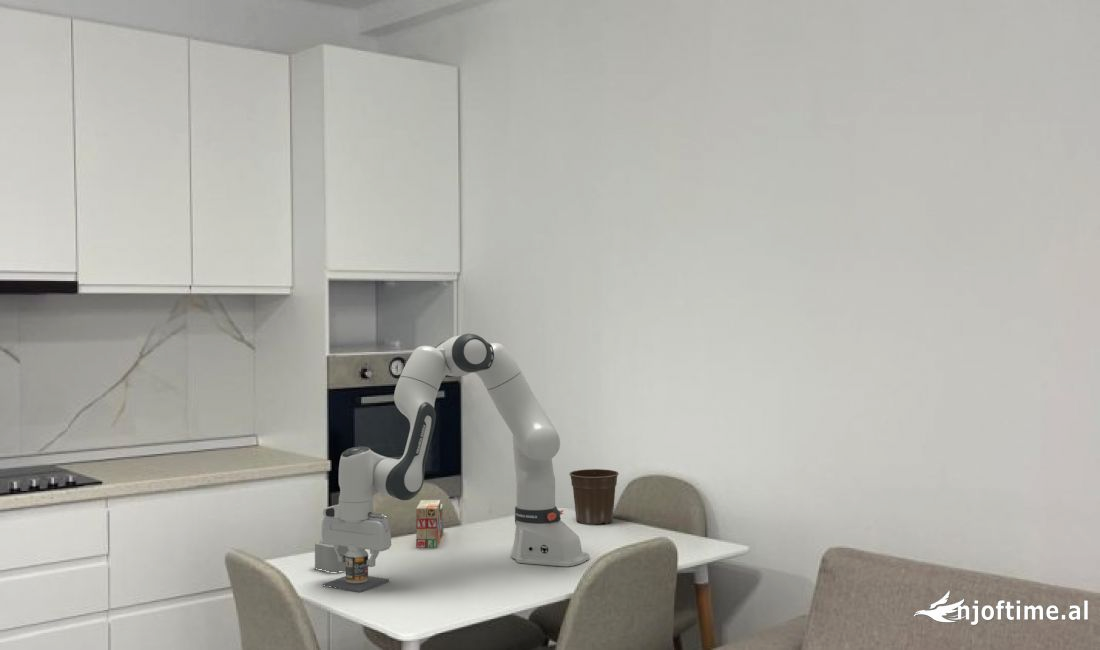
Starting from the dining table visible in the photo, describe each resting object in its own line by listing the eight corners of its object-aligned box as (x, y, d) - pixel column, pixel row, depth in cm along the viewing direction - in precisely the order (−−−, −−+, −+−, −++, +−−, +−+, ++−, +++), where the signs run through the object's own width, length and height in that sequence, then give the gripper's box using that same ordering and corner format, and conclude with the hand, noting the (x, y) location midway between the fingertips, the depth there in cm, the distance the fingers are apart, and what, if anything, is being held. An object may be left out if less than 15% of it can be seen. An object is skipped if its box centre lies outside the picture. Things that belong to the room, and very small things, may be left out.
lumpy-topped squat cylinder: (309, 568, 294) (309, 537, 294) (346, 559, 304) (346, 529, 304) (334, 574, 288) (334, 542, 287) (371, 565, 298) (371, 534, 297)
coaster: (389, 581, 281) (389, 579, 281) (360, 592, 270) (360, 590, 270) (352, 575, 286) (352, 573, 286) (322, 586, 276) (322, 583, 276)
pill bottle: (357, 585, 274) (357, 546, 274) (340, 582, 277) (340, 543, 277) (372, 580, 279) (372, 542, 279) (356, 577, 282) (356, 539, 282)
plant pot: (565, 525, 349) (565, 476, 349) (572, 515, 365) (573, 468, 365) (615, 527, 347) (615, 477, 346) (620, 517, 363) (621, 469, 362)
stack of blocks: (423, 533, 338) (423, 494, 338) (443, 533, 339) (443, 494, 338) (416, 549, 317) (415, 507, 317) (437, 549, 317) (437, 507, 317)
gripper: (396, 512, 275) (396, 566, 276) (333, 505, 285) (334, 557, 286) (381, 516, 270) (381, 571, 270) (317, 509, 280) (318, 562, 280)
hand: (356, 564), depth 278 cm, fingers open, 8 cm apart
